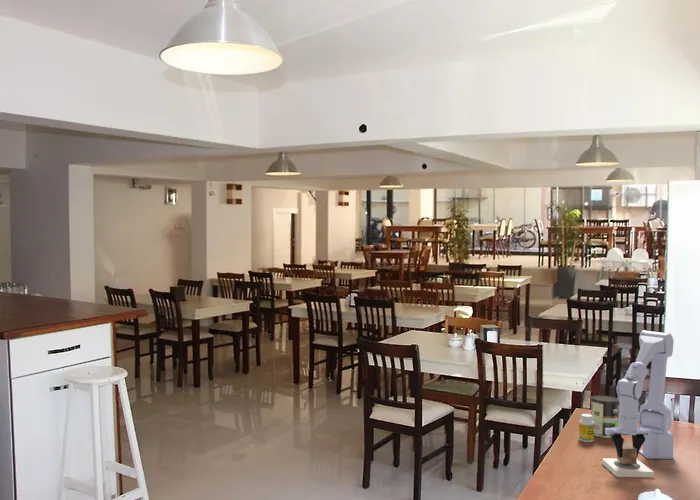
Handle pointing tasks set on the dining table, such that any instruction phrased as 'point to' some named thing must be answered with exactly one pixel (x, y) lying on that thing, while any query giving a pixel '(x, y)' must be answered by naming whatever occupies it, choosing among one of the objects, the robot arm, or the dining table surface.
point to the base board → (627, 468)
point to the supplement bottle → (586, 428)
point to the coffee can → (604, 414)
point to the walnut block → (628, 455)
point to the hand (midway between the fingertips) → (627, 456)
